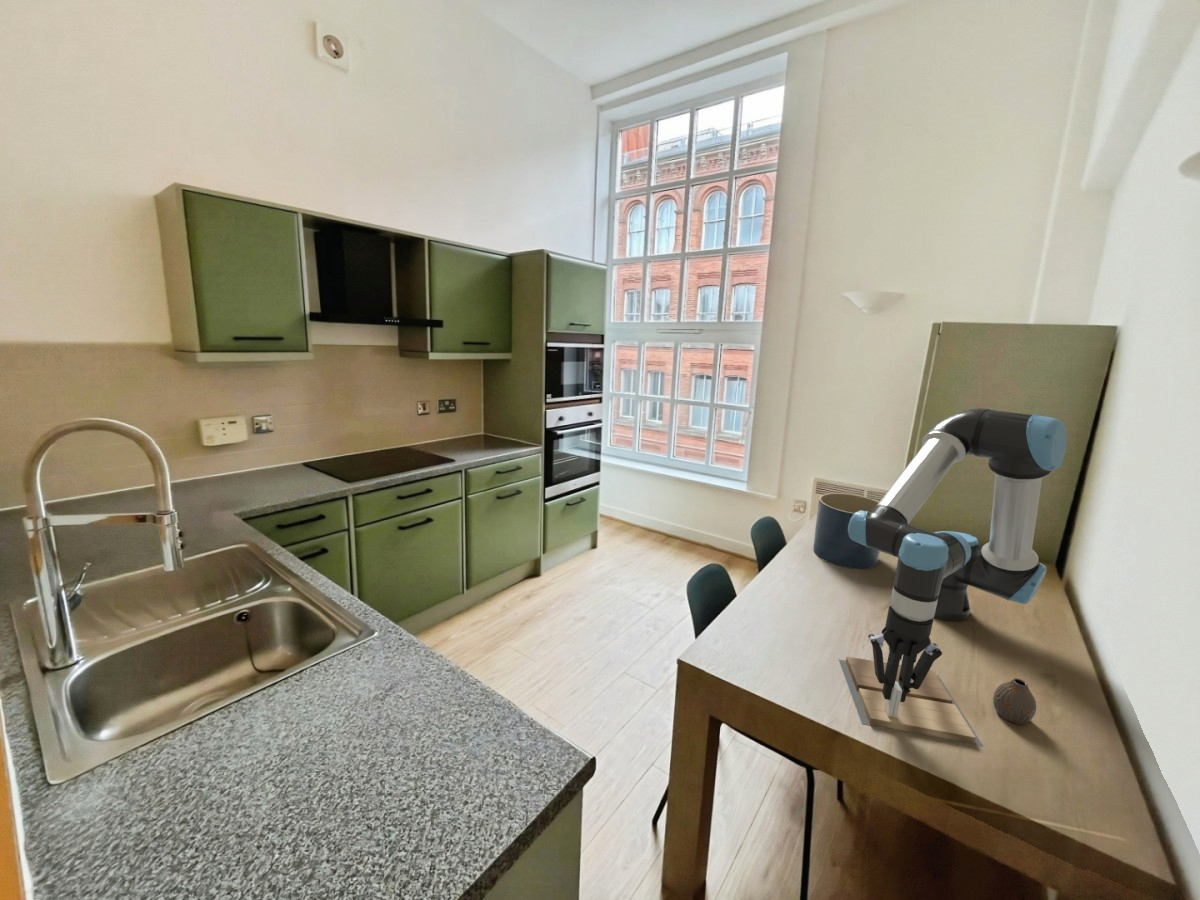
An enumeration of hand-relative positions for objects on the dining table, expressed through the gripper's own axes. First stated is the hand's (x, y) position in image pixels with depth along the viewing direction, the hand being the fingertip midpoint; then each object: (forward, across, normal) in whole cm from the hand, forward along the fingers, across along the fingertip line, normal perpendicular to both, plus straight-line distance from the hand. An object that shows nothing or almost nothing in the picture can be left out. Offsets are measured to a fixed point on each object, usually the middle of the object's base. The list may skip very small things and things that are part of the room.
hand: (890, 711), depth 102 cm
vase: (+2, -26, -8) cm, 27 cm away
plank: (+2, -5, -2) cm, 6 cm away
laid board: (+2, -5, -13) cm, 14 cm away
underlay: (+2, -5, -8) cm, 9 cm away
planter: (+2, -10, -83) cm, 84 cm away
